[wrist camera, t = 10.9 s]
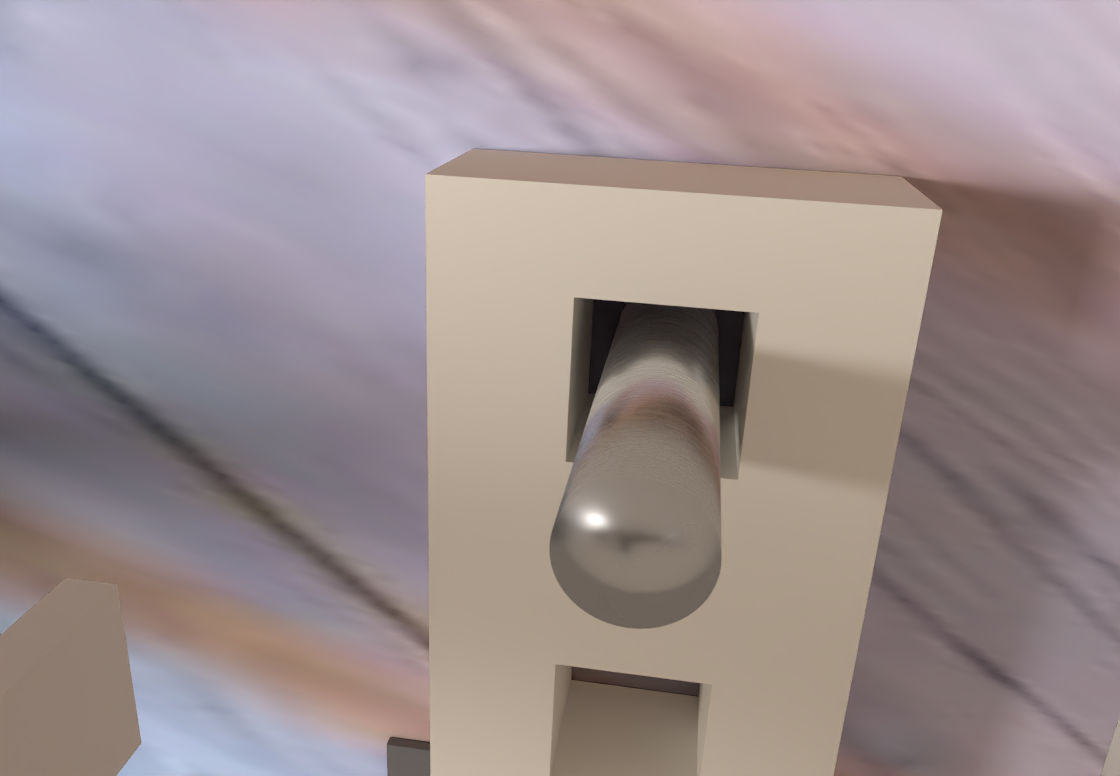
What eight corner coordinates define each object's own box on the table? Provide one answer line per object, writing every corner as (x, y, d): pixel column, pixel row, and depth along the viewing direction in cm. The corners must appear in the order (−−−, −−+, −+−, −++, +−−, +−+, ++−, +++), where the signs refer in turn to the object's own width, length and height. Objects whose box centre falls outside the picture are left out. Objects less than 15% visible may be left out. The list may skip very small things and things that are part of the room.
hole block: (467, 726, 35) (430, 833, 30) (473, 148, 27) (424, 174, 23) (796, 773, 34) (810, 892, 29) (901, 176, 26) (942, 209, 21)
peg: (615, 372, 29) (545, 617, 17) (622, 278, 28) (552, 469, 16) (712, 382, 29) (711, 639, 17) (723, 287, 28) (731, 489, 16)
